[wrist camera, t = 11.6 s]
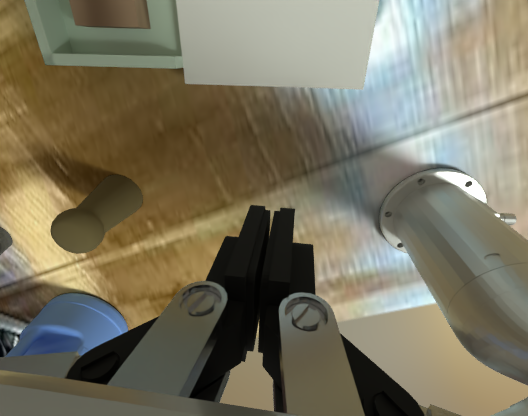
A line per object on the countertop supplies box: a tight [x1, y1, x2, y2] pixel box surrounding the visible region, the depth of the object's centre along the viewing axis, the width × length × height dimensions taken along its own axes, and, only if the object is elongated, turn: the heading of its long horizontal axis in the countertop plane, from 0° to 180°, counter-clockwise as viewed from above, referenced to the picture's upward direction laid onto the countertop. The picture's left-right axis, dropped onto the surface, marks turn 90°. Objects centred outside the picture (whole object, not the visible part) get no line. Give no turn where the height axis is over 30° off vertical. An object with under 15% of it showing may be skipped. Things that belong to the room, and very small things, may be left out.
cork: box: [51, 175, 143, 253], centre depth 35 cm, size 6×6×11 cm
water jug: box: [5, 293, 128, 357], centre depth 42 cm, size 16×16×28 cm
